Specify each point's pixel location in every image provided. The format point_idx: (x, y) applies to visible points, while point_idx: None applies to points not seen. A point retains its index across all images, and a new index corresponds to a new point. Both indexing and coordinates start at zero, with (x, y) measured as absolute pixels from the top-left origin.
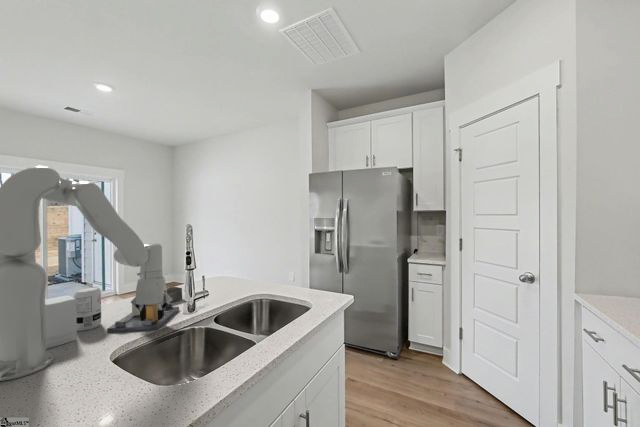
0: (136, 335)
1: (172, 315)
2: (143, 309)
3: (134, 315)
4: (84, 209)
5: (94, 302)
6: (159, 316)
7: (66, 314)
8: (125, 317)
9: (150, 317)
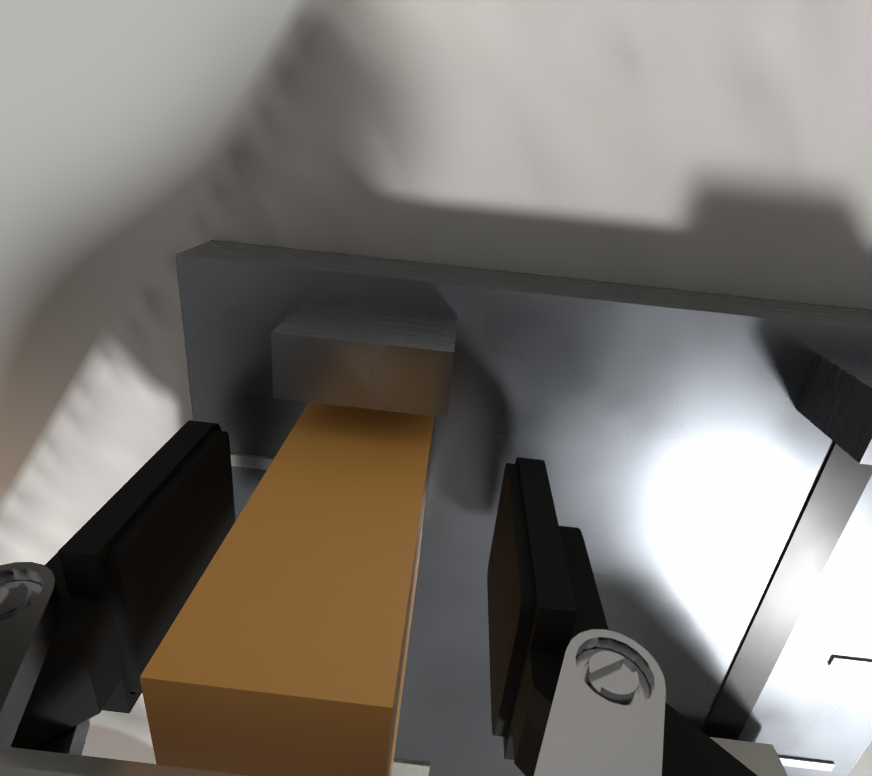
0: (490, 57)
1: None
2: (528, 685)
3: (738, 742)
4: None
5: None
6: (154, 458)
7: None
8: (858, 723)
9: (336, 455)
